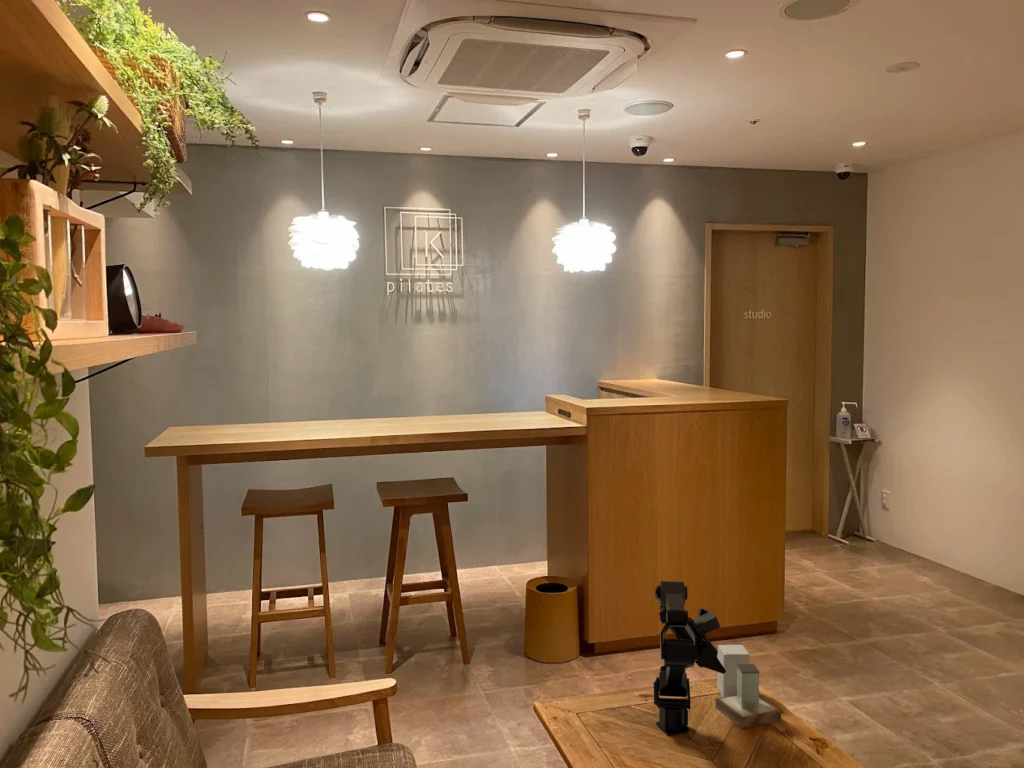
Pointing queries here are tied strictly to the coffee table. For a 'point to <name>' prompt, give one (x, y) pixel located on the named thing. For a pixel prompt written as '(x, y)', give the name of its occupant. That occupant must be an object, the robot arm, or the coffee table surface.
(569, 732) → the coffee table surface
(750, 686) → the olive grey square block
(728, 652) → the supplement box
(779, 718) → the brown framed square mirror
